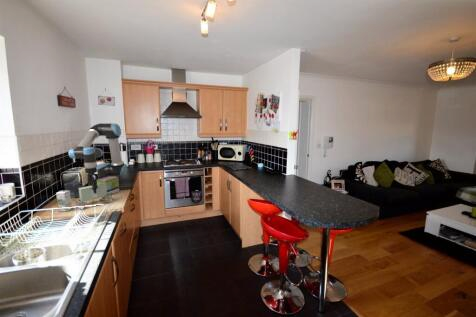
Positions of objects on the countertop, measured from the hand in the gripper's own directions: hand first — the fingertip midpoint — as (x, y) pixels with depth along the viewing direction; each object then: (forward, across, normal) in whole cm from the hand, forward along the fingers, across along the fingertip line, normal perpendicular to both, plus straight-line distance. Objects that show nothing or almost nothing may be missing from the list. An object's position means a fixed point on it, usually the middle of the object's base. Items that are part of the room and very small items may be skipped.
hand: (93, 196), depth 168 cm
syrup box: (+7, -2, -18) cm, 19 cm away
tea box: (+7, -20, +18) cm, 28 cm away
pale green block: (+2, 0, 0) cm, 2 cm away
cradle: (+6, 0, 0) cm, 6 cm away
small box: (+7, -35, -4) cm, 36 cm away
